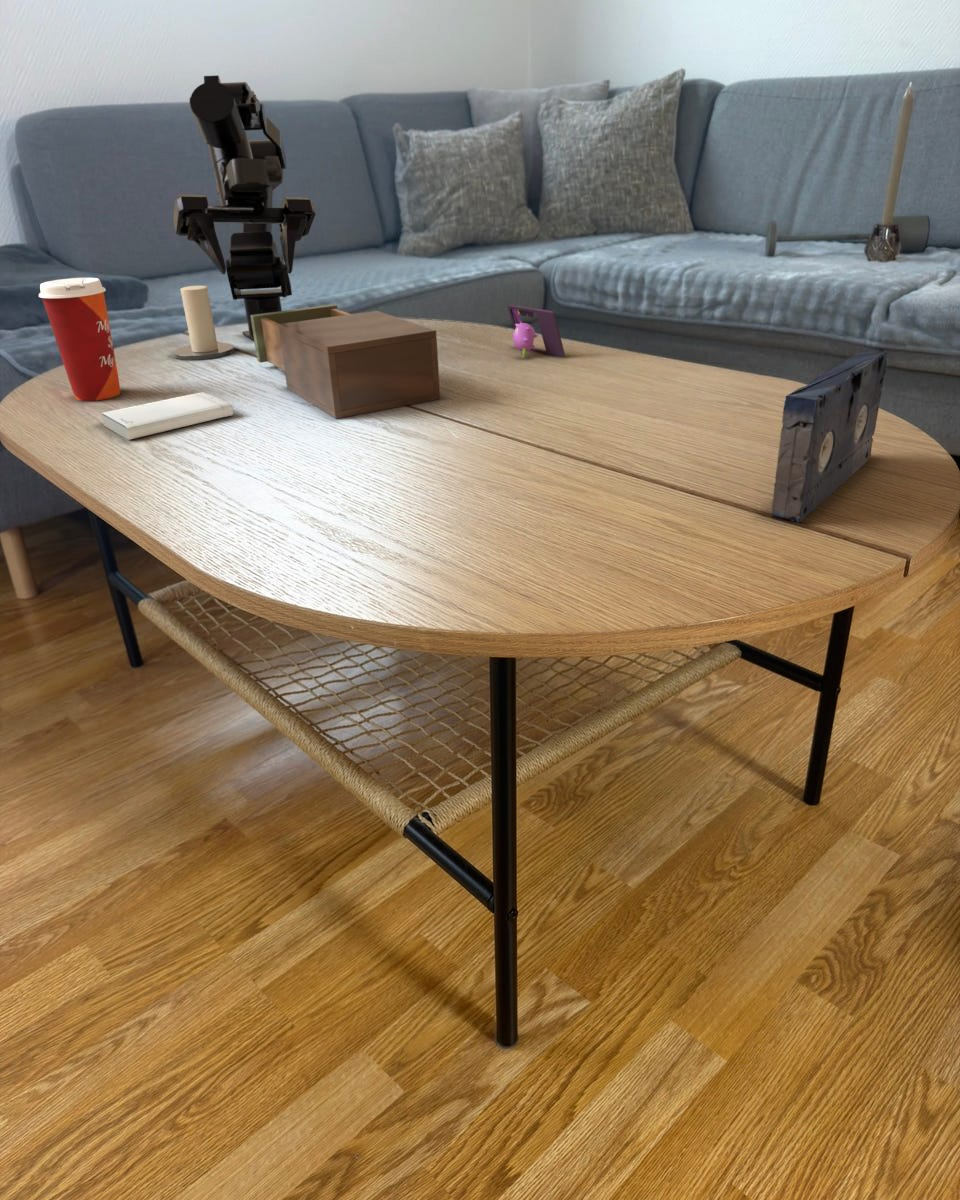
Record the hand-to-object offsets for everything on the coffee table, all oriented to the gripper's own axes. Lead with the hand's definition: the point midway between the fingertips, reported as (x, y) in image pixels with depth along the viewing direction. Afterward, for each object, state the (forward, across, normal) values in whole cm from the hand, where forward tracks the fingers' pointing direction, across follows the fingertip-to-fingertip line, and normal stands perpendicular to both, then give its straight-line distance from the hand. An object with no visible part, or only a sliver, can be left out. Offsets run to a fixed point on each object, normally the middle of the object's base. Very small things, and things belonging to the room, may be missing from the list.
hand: (257, 272), depth 120 cm
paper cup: (+15, -23, +4) cm, 28 cm away
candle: (+3, -6, +16) cm, 17 cm away
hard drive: (+25, -17, -10) cm, 32 cm away
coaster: (+4, -6, +17) cm, 18 cm away
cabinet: (+24, +6, -13) cm, 28 cm away
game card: (+19, +34, -10) cm, 40 cm away
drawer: (+14, +5, 0) cm, 15 cm away
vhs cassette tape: (+53, +30, -57) cm, 83 cm away
